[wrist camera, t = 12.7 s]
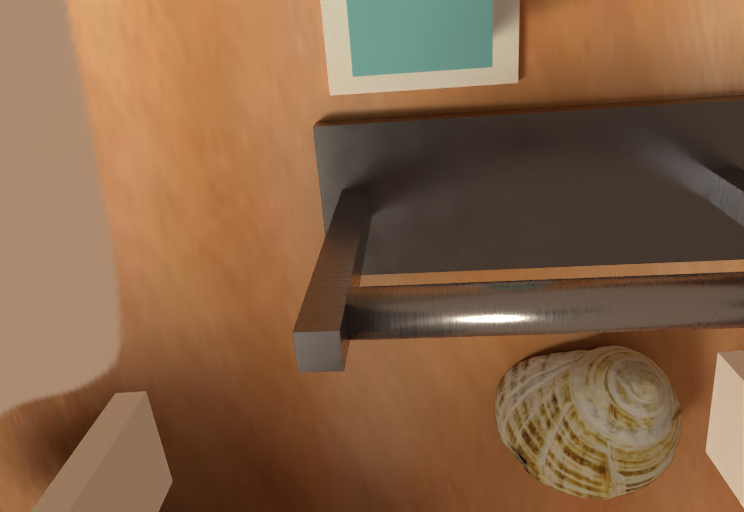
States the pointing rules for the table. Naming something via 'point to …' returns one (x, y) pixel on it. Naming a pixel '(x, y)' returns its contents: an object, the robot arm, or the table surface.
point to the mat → (345, 83)
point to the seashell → (590, 420)
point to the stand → (526, 222)
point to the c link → (419, 35)
